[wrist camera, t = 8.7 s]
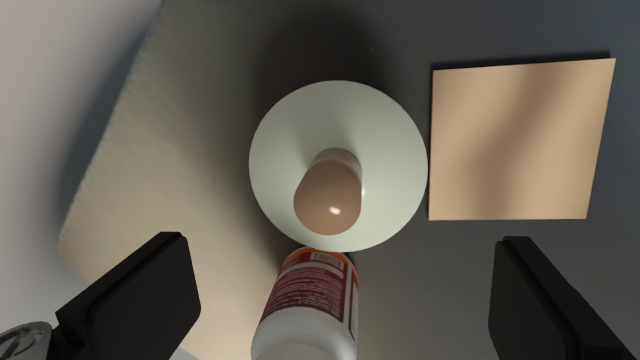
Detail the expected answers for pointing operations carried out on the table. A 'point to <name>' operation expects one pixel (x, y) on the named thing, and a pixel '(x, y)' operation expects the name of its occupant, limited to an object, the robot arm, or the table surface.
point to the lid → (338, 166)
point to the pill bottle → (310, 310)
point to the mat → (516, 139)
